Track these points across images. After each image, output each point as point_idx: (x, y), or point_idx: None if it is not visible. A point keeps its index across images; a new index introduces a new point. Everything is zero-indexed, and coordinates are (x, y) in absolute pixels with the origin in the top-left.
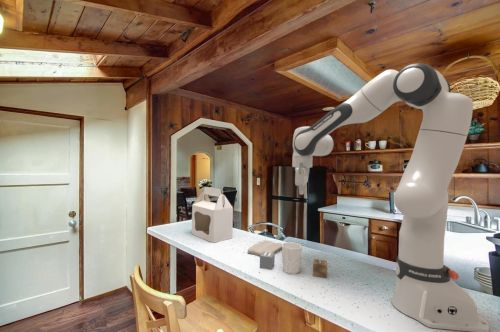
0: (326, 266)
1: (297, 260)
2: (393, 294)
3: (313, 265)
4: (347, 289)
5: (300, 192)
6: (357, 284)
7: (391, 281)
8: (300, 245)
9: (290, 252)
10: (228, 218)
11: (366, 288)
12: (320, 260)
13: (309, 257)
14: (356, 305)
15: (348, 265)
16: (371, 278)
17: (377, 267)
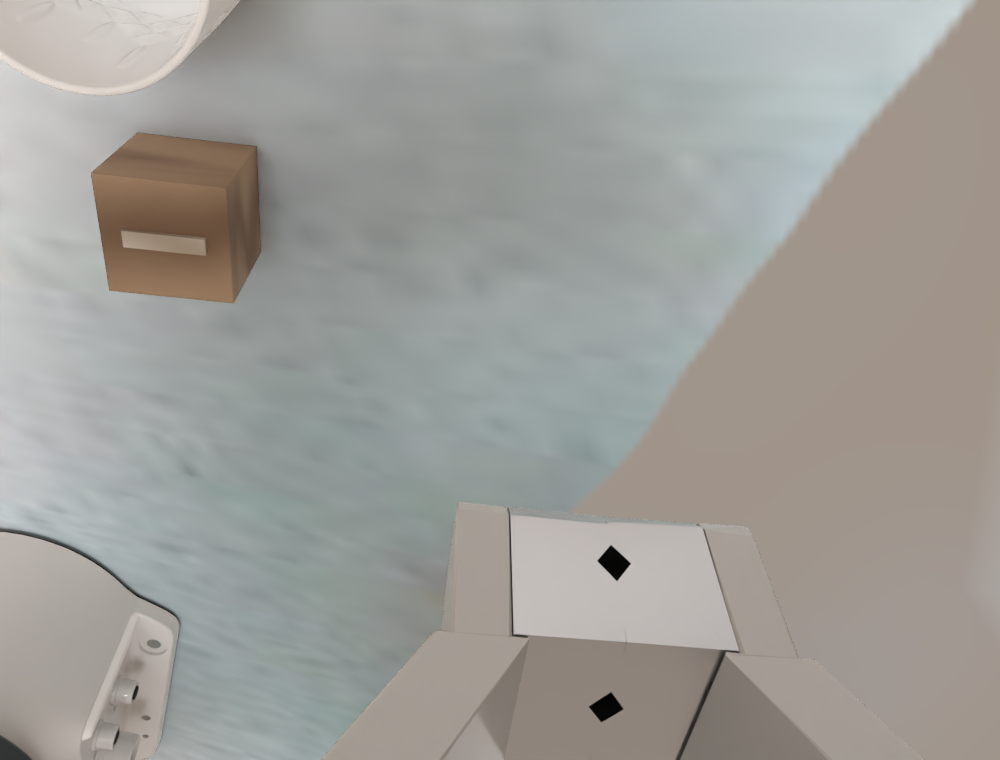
0: (113, 283)
1: (62, 6)
2: (6, 568)
3: (98, 170)
4: (44, 354)
5: (447, 596)
6: (155, 422)
7: (292, 591)
8: (146, 75)
9: None
10: None
11: (123, 457)
12: (189, 248)
13: (585, 125)
14: None
15: (473, 424)
16: (290, 511)
17: None
